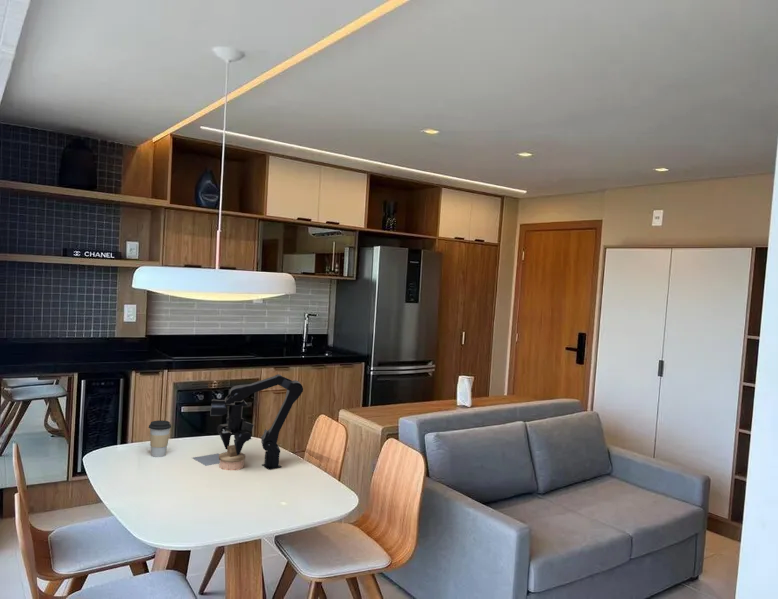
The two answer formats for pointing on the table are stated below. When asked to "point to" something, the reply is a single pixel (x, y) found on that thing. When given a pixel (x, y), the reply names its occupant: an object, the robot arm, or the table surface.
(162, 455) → the coffee cup
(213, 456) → the mat
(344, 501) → the table surface
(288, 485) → the table surface
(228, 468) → the bowl
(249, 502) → the table surface
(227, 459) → the lid
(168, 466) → the table surface
